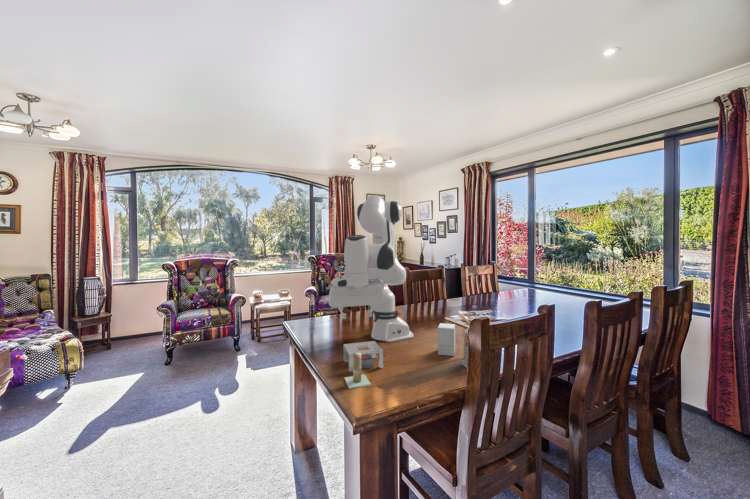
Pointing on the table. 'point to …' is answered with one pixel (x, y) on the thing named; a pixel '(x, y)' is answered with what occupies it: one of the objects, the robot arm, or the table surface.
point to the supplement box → (446, 339)
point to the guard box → (366, 363)
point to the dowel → (356, 367)
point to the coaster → (352, 384)
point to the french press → (466, 346)
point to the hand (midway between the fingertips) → (356, 317)
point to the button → (364, 357)
